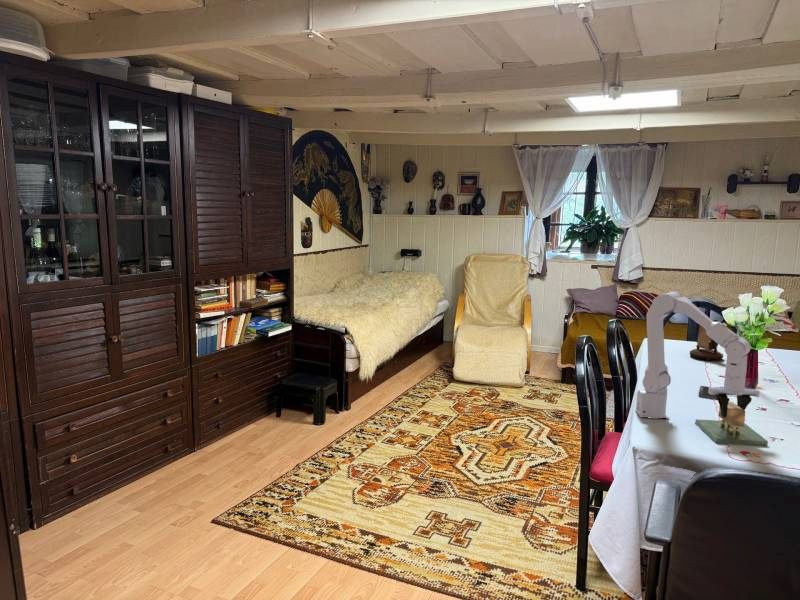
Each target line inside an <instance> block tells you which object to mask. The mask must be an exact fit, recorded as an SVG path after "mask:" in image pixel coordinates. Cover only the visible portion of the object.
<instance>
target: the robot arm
mask: <svg viewBox="0 0 800 600" xmlns="http://www.w3.org/2000/svg"><path fill="white" fill-rule="evenodd" d="M672 312H673V313H675V314H681V315H682V314H684V315H686V316H687V317H688V318H690V319H691V320H693V321H694V322H695V323H697V324H698V325H699V324H700V325H701V326H702V327H704V328H705V329H706V334H707V335H708V336H709V337H710V339H711V340H712V339H713V340H714V341H715V342H716V343H718V346H720V347H721V348H722V349H724V352H725V354H726V360H725V362H726V363H725V371H724V380H723V381H724V382H723V386H714V387H713V386H708V387H709V390H708V393H709V394H710V395H714V394H715V395H716V397H717V399H718V400H717V402H718V405H719V407H720V409H721V415H722V416H723V417H726V415H727V407H728V403H729V402H730V398H729V396H736V405H738V406H739V407H740V408H742V409H743V410H744V411H746V408H747V407H748V405H750V403H751V402H752V400H753V398H752V397H756V398H759V397H760V394H761V393H760V392H761V391H760V390H759V389H756V388H746V387H745V386H746V378H747V367H748V354H749V353H750V351H751V346H752V345H751V343H750V342H749V340H748V339H747V338H746V337H742V336H741V335H740V334H738V333H735V332H734V331H732V329H729V328H728V327H727V326H728V324H727V323H725V322H721V321H718V322H713V321H714V320H712V319H711V318H710V317H709V316H708V315H707V314H706V313H704V312H703V311H702V310H701V309H699V307H697V306H696V305H695V304H694V303H693V302H691V300H690V299H689V298H688V297H686V296H684V295H683V294H682V293H680V292H678V291H675V290H674V291H673V290H672V291H670V292H667V293H661V294H659V295H658V296H656V297H655V298H653V299H652V304H651V305H650V307H649V308H648V310H647V312H646V315H645V316H646V336H647V337H646V338H647V339H646V341H647V343H646V344H647V366H646V368H645V371H644V377H643V379H642V386H643V388H644V389H640V390H637V393H636V402H635V404H636V405H635V410H634V411H635V412H636V413H637V414H638V416H639V417H640V418H641V417H651V418H650V419H657V418H666V419H665V420H670V417H669V416H668V414H667V412H666V411H667V400H668V386H669V385H670V384H671V382H672V381H671V380H672V378H671V376H670V373H669V370H668V366H667V365H666V363H665V362H666V361H665V358H666V357H665V335H664V334H665V333H664V320H665V318H666V317H667V316H669V315H670V314H671V313H672Z"/></svg>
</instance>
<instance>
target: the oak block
mask: <svg viewBox="0 0 800 600" xmlns="http://www.w3.org/2000/svg"><path fill="white" fill-rule="evenodd" d="M718 417H719V418H720V419H721V420H724V421H725V422H726V423H728V424H729V425H730V426H744V423H745V419H746V410H743V409H742V408H740V407H739V406H738V405H737V403H735V402H734V401H729V403H728V407H727V415H726V417H723V416H722V415H721V409H720V406H719V410H718Z"/></svg>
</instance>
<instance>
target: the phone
mask: <svg viewBox="0 0 800 600" xmlns="http://www.w3.org/2000/svg"><path fill="white" fill-rule="evenodd" d="M709 387H710V386H705V385H700V386H699V391H698V397H699V398H702V399H707V398H708V399H707V400H714V399H716V400H715V401H718V399H717V397H716V395H715V394H714V395H710V394H709V393H708V390H709Z"/></svg>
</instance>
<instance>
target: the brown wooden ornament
mask: <svg viewBox="0 0 800 600" xmlns="http://www.w3.org/2000/svg"><path fill="white" fill-rule="evenodd" d="M712 321H713V322H719V320H717V319H713V320H712ZM697 329H698V330H697V331H696V334H697V337H696V338H697V339H696V346H695V347H696V348H694V349H691V350H689V356H690V358H692V357H696V358H701V359H706V361H707V362H709V361H710V360H711V359H712V360H719V359H720V360H722V359H723V358H724V354H723V353H721V351H718V347H719V344H718V343H716V342H715V341H714V340H713V339H711V338H710V337H709V336H708V335H707V334H706V329H705V328H704V327H702V326H701V325H700V324H698V328H697ZM710 339H711V340H710Z"/></svg>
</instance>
